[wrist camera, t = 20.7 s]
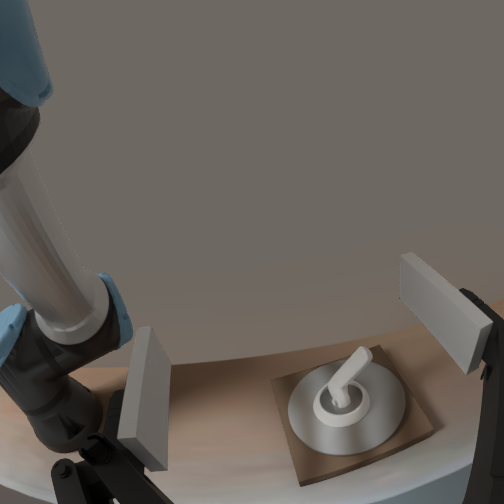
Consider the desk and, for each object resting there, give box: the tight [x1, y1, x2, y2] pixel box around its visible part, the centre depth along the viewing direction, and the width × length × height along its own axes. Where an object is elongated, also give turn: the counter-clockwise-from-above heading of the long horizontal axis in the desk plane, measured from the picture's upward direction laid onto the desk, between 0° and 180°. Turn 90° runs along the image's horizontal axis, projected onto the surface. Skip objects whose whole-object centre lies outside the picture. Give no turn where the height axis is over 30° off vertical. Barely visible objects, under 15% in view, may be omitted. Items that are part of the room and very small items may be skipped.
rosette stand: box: [271, 345, 434, 487], centre depth 39 cm, size 18×18×3 cm
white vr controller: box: [313, 346, 373, 427], centre depth 37 cm, size 8×12×7 cm
